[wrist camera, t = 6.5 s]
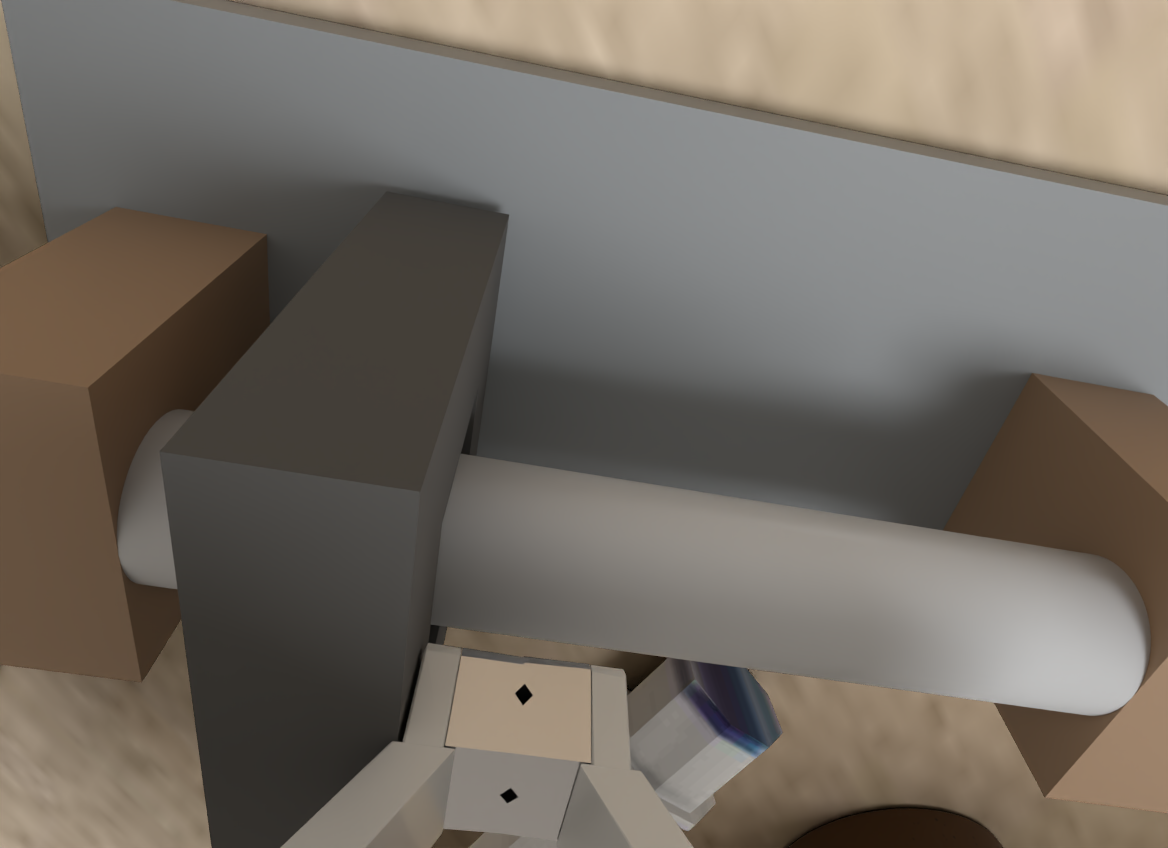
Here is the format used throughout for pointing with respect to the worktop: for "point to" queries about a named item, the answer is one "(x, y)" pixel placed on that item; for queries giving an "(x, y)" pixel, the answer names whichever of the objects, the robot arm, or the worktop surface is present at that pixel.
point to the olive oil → (900, 831)
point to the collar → (328, 511)
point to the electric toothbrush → (687, 737)
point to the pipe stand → (616, 368)
